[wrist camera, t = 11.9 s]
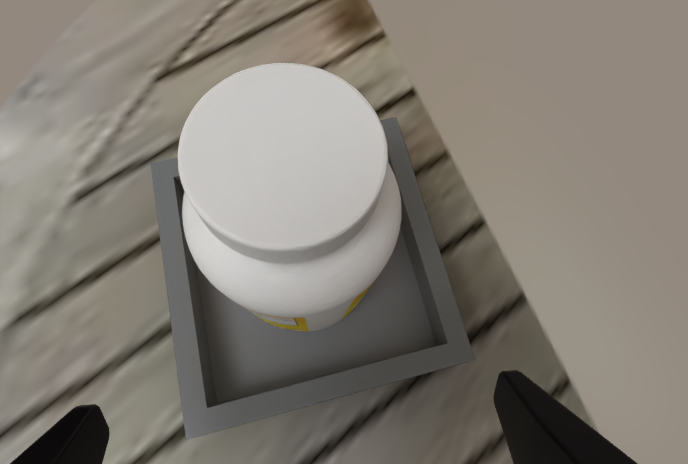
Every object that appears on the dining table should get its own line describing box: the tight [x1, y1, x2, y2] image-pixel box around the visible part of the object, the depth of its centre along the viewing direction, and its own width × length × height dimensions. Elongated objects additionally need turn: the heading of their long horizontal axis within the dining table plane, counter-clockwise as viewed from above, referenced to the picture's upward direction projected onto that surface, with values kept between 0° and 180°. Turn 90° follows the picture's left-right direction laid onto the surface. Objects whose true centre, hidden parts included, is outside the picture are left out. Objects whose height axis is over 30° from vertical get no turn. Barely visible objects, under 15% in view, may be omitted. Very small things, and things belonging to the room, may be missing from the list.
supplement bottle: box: [178, 63, 401, 332], centre depth 15 cm, size 7×7×13 cm
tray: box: [151, 118, 475, 440], centre depth 21 cm, size 13×13×2 cm
